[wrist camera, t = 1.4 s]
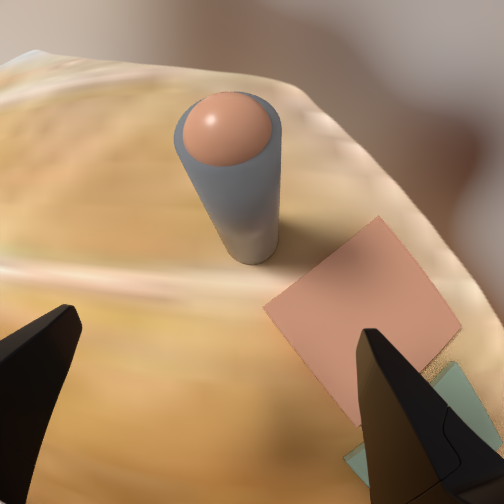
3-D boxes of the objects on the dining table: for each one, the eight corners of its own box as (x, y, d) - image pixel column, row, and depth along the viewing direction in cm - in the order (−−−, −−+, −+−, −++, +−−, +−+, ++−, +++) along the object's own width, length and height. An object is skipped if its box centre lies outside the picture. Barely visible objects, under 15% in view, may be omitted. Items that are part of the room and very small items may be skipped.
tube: (280, 261, 23) (290, 147, 9) (226, 266, 23) (159, 163, 9) (275, 211, 24) (274, 64, 10) (223, 215, 24) (168, 78, 10)
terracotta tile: (455, 326, 20) (462, 326, 19) (353, 424, 19) (356, 427, 18) (375, 220, 23) (378, 215, 22) (262, 308, 22) (262, 307, 21)
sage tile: (497, 440, 17) (503, 443, 16) (406, 525, 16) (410, 530, 15) (450, 361, 20) (456, 361, 19) (343, 457, 18) (346, 462, 17)
